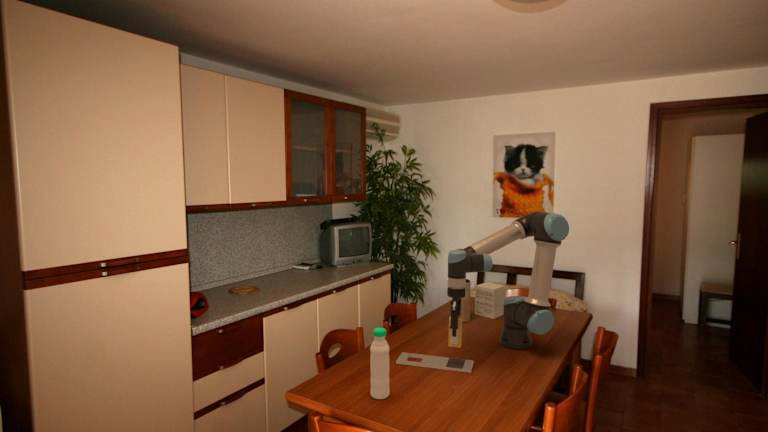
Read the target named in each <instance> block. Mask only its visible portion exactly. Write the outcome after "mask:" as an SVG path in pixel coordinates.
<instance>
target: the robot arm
mask: <svg viewBox="0 0 768 432" xmlns="http://www.w3.org/2000/svg"><path fill="white" fill-rule="evenodd" d="M568 222H569V221H568V220H567V219H566V217H565V216H564V215H562V214H558V213H556V212H555V213H554V212H543V211H533V212H530V213H528V214H525V215H523V216H521V217H519V218H517V219H514V220H513V221H511V224H510V225H508V226H506V227H504V228H501V229H500V230H498V231H495V232H494V233H492V234H489V235H488V236H486V237H484V238H482V239H480V240H479V241H476V242H474V243H472V244H471V245H468V246H466V247H465V248H456V249H453V250H449V252H448V254H447V278H446V282H447V289H446V290H447V291H446V292H447V296H448V297H449V298H451V301H450V316H451V326H450V327H449V326H448V329H449V328H451V343H452V344H458V316H460V315H461V298H463V297H465V288H464V287H466V279H467V278H466V277H467V273H468V274H469V273H484V272H490V271H491V270H492V267H493V263H494V262H493V259H492V257H491V255H490V254H492V253H494V252H496V251H498V250H500V249H502V248H504V247H506V246H508V245H510V244H512V243H514V242H515V241H517V240H524V239H527V238H530V237H533V242H534V243H535V244H536V245H535V251H534V258H533V266H532V270H531V276H530V282H529V289H528V296H523V295H511V296H506V298H505V299H504V304H503V306H504V315H503V320H502V321H503V327H502V330H501V333H500V334H499V339H498V340H499V342H498V344H500V345H501V346H503V347H505V348H507V349H512V350H527V349H529V348H530V349H531V348H532V346H533V339H532V336H531V333H533V334H536V335H544V334H547V333H548V332H549V331H550V330H551V329H552V328H553V326H554V323H555V316H554V315H553V313H552V312H551V307H552V306H551V303H550V302H549V296H550V289H551V285H552V284H551V283H552V280H553V279H552V278H553V273H554V272H553V271H554V267H555V266H554V265H555V260H556V254H557V248H559V247H560V246H561V245H562V241H564V240H565V239H566V237H568V236H569V233H570V232H569V231H570V225H569V223H568ZM452 298H453V299H452ZM530 332H531V333H530Z"/></svg>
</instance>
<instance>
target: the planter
mask: <svg viewBox="0 0 768 432" xmlns="http://www.w3.org/2000/svg"><path fill="white" fill-rule="evenodd" d="M471 283H472V281H471V280H470V279H467V278H466V287H464V288H465V297H463V298H461V315H460V316H462V323H467V322H468V323H469V321H471V289H472V288H471ZM452 299H453V298H452V297H451V300H452Z"/></svg>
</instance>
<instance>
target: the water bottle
mask: <svg viewBox="0 0 768 432" xmlns="http://www.w3.org/2000/svg"><path fill="white" fill-rule="evenodd" d="M372 335H373V337H374V339H373V341H372V343H371V345H370V346H369V347H370V348H369V352H370V356H369V357H370V359H369V362H370V380H369V381H370V390H369V391H370V396H371V397H372V398H373V399H375V400H385V399H387V398H388V397H389V396H390V394H391V393H390V392H391V391H390V346H389V343H388V341H387V339H386V336H387V330H386V328H384V327H376V328H374V329H373V330H372Z"/></svg>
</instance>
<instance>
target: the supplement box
mask: <svg viewBox="0 0 768 432" xmlns="http://www.w3.org/2000/svg"><path fill="white" fill-rule="evenodd" d="M506 291H507V286H506V285H505V284H499V283H494V282H488V281H487V282H484V283H480V284H476V285H474V315H475V316H476V315H477V316H481V317H483V318H487V319H493V320H495V319H496V318H500V317H502V316H504V306H503V304H504V299H505V298H506V297H507V295H506V294H507V292H506Z"/></svg>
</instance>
